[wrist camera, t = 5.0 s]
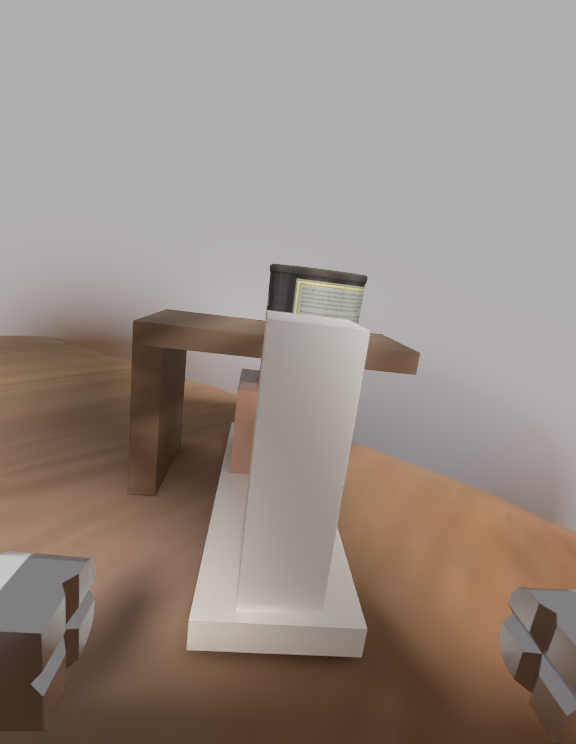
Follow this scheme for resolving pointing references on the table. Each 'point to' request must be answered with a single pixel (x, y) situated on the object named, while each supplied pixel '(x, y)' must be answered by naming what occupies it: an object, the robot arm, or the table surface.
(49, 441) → the table surface
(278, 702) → the table surface
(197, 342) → the shelf
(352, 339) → the white pillar stand
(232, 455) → the cube
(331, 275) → the coffee can
